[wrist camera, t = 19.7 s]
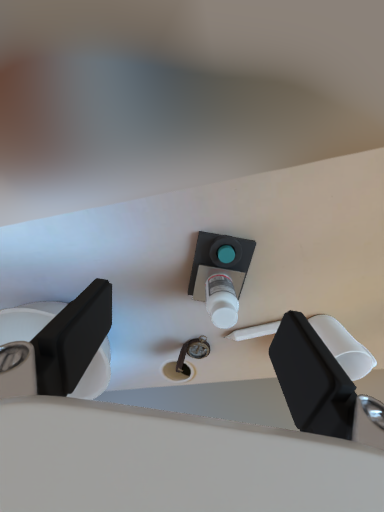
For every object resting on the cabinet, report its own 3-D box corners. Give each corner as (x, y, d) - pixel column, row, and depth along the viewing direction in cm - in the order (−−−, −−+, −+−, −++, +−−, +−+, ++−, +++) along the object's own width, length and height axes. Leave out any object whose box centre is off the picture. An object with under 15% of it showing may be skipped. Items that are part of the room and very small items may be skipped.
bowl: (101, 269, 42) (72, 295, 33) (142, 358, 52) (129, 398, 43) (-5, 291, 46) (-57, 321, 36) (53, 370, 56) (24, 409, 46)
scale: (199, 228, 38) (199, 233, 35) (255, 238, 38) (259, 243, 35) (187, 291, 43) (187, 299, 40) (236, 299, 43) (238, 307, 41)
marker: (222, 332, 48) (289, 317, 45) (225, 340, 48) (292, 326, 45) (222, 335, 46) (292, 320, 43) (224, 344, 45) (295, 330, 42)
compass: (206, 358, 51) (206, 386, 44) (177, 350, 50) (173, 378, 44) (216, 336, 48) (218, 362, 41) (185, 328, 47) (182, 353, 41)
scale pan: (199, 263, 37) (199, 264, 37) (245, 271, 37) (245, 272, 37) (192, 298, 40) (192, 299, 40) (234, 305, 40) (235, 306, 40)
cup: (309, 310, 44) (338, 347, 34) (360, 320, 44) (402, 359, 35) (294, 337, 47) (318, 378, 37) (342, 346, 47) (376, 388, 38)
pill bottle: (226, 299, 39) (233, 336, 30) (201, 291, 39) (201, 326, 30) (237, 277, 37) (248, 310, 28) (211, 268, 37) (214, 299, 28)
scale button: (219, 243, 36) (220, 246, 34) (235, 246, 36) (236, 249, 34) (216, 258, 37) (216, 261, 35) (231, 261, 37) (232, 264, 36)
